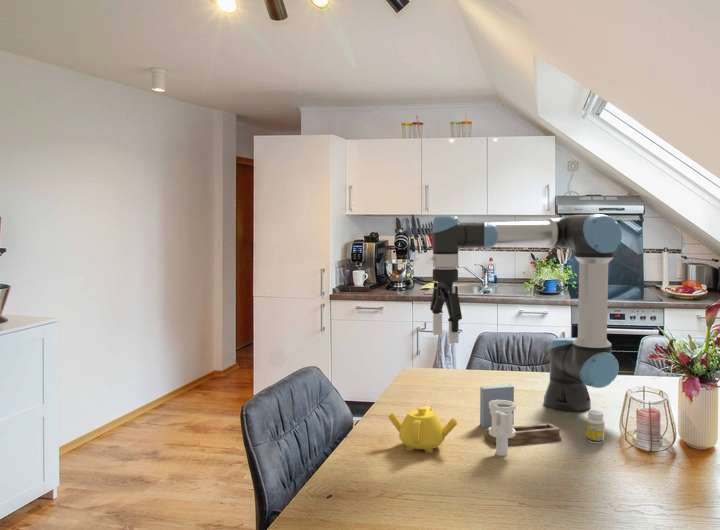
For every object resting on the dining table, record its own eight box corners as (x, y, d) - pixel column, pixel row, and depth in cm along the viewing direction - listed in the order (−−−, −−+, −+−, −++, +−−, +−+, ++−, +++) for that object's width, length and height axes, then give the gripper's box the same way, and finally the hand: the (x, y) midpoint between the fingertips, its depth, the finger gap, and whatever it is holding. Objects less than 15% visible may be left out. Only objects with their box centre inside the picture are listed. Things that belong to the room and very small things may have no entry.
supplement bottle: (591, 437, 180) (591, 408, 179) (607, 441, 176) (607, 412, 176) (583, 441, 176) (584, 412, 176) (599, 445, 173) (600, 416, 172)
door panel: (509, 421, 194) (509, 384, 193) (513, 424, 191) (513, 386, 190) (479, 424, 192) (479, 386, 191) (483, 427, 189) (483, 388, 188)
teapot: (463, 439, 178) (463, 402, 178) (451, 463, 162) (451, 421, 161) (396, 432, 185) (396, 396, 184) (378, 454, 168) (378, 414, 167)
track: (546, 430, 185) (547, 421, 185) (561, 440, 177) (561, 429, 177) (484, 436, 181) (484, 426, 181) (496, 446, 173) (496, 435, 173)
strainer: (483, 451, 169) (483, 397, 168) (504, 447, 172) (505, 394, 171) (498, 460, 163) (499, 404, 162) (520, 456, 166) (521, 401, 165)
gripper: (420, 265, 195) (420, 331, 197) (448, 271, 171) (448, 347, 172) (442, 264, 197) (442, 330, 198) (473, 271, 172) (473, 346, 174)
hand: (445, 338), depth 185 cm, fingers open, 13 cm apart
